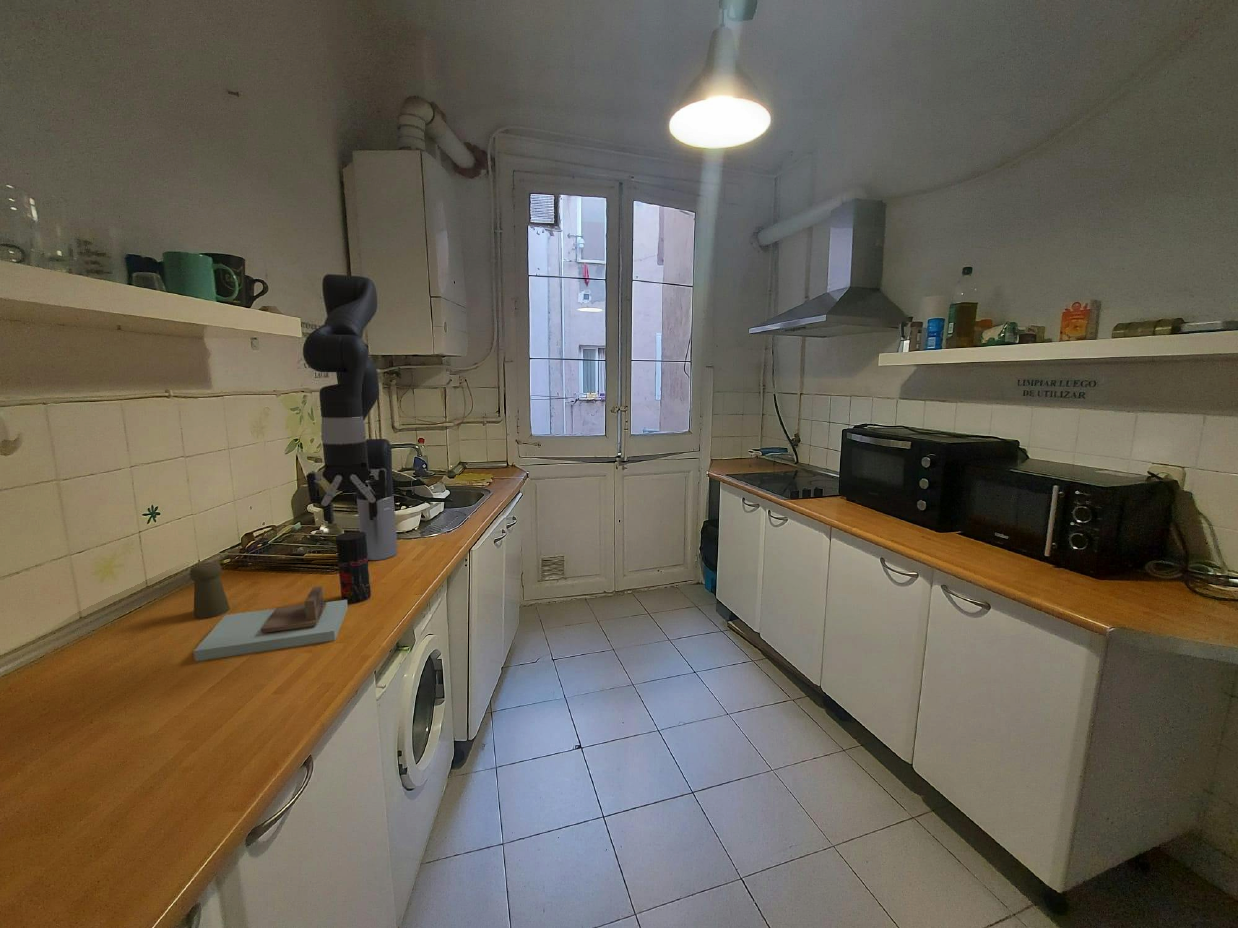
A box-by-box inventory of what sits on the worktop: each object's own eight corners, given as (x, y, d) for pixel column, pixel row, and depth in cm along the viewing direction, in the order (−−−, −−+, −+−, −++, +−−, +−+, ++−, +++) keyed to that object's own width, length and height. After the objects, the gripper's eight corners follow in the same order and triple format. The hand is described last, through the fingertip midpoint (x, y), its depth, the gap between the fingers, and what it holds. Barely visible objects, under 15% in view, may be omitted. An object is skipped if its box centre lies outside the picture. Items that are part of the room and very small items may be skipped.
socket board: (226, 623, 100) (225, 614, 99) (347, 607, 107) (347, 599, 107) (195, 661, 87) (193, 651, 86) (335, 640, 94) (334, 630, 94)
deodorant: (375, 597, 112) (369, 535, 109) (347, 606, 108) (341, 541, 105) (365, 589, 116) (360, 529, 113) (338, 597, 112) (331, 535, 109)
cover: (276, 611, 100) (273, 589, 99) (326, 605, 103) (324, 583, 102) (261, 633, 92) (258, 609, 91) (316, 625, 95) (313, 602, 94)
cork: (214, 619, 101) (206, 569, 99) (185, 618, 101) (177, 569, 99) (237, 605, 107) (230, 558, 105) (210, 605, 107) (203, 558, 105)
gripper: (386, 436, 101) (392, 513, 104) (307, 438, 96) (315, 519, 99) (383, 441, 94) (389, 523, 97) (296, 443, 89) (305, 530, 92)
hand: (351, 520), depth 98 cm, fingers open, 7 cm apart
